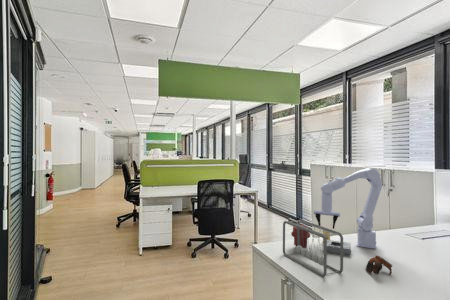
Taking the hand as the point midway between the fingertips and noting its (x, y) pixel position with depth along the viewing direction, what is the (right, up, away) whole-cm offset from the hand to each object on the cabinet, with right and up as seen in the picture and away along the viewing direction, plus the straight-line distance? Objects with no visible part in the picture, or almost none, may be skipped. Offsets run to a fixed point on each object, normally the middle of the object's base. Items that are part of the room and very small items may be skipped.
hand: (326, 227), depth 163 cm
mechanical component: (-18, -9, -9) cm, 22 cm away
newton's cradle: (-19, -9, -31) cm, 37 cm away
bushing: (0, -9, 0) cm, 9 cm away
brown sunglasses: (+8, -9, -41) cm, 43 cm away
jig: (+1, -9, -13) cm, 16 cm away
